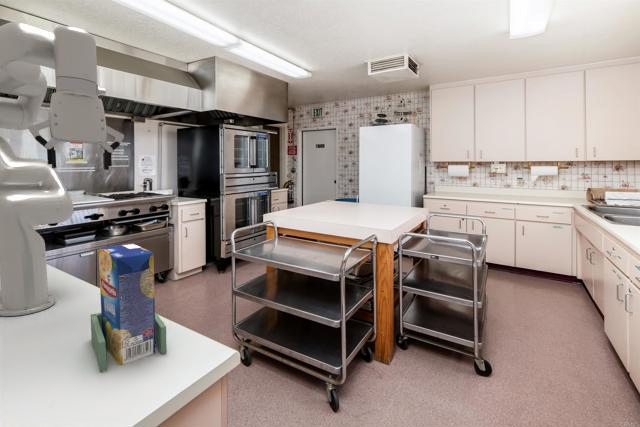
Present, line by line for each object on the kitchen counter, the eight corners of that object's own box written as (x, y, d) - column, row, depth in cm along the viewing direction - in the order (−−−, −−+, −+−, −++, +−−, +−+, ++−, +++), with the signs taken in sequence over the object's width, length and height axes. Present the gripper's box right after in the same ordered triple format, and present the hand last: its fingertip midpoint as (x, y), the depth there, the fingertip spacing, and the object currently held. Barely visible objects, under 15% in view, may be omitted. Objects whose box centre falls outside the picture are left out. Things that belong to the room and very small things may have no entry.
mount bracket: (91, 339, 77) (90, 314, 76) (149, 326, 84) (149, 303, 83) (100, 372, 65) (99, 342, 64) (166, 352, 73) (166, 326, 72)
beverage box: (135, 334, 80) (133, 243, 77) (155, 352, 72) (153, 252, 70) (102, 345, 75) (98, 247, 72) (120, 365, 67) (117, 258, 65)
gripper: (119, 99, 82) (122, 169, 85) (25, 85, 71) (31, 167, 74) (125, 94, 77) (127, 170, 79) (24, 79, 66) (30, 168, 68)
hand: (81, 168), depth 76 cm, fingers open, 9 cm apart
